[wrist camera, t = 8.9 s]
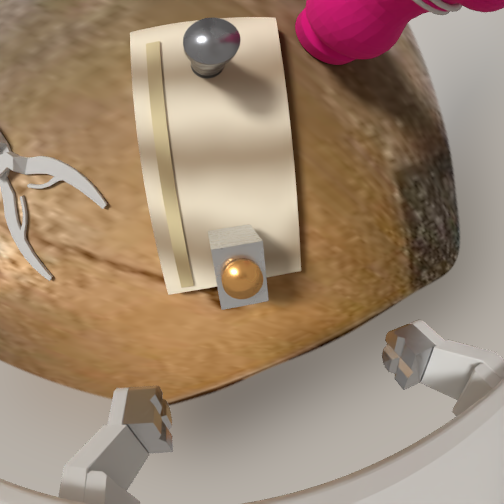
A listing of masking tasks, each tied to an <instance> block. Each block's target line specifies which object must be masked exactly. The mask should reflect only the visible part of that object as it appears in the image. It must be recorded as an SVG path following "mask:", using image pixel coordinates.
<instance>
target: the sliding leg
mask: <svg viewBox="0 0 504 504" xmlns="http://www.w3.org/2000/svg"><path fill="white" fill-rule="evenodd" d="M208 235H209V242H210V248H211V254H212V259H213V265H214V271H215V277H216V282H217V287H218V293H219V298H220V303H221V308H222V310H223V309H228V308H234V307H239V306H244V305H250V304H255V303H260V302H265V301H269V300H268V289H267V279H266V269H265V259H264V249H263V241H262V239H261V238H260V237H259V235H258V234H257V233H256V231H255V230H254V229H253V228H252V226H251V225H250V224H248V225H241V226H235V227H229V228H223V229H217V230H211V231H208Z"/></svg>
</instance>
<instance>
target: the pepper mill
mask: <svg viewBox="0 0 504 504" xmlns="http://www.w3.org/2000/svg"><path fill="white" fill-rule="evenodd" d="M462 6H465V7H467V8H469V9H471V10H475V11H480V12H492V11H496V10H499V9H502V8H504V0H307V2H306V8H305V9H304V10H303V11H302V12H301V13H300V14H299V16H298V17H297V20H296V23H295V30H296V34H297V37H298V39H299V41H300V43H301V45H302V46H303V47H304V48H305V49H306V50H307V52H309V53H310V54H311V55H312V56H314V57H315V58H317V59H319V60H320V61H323V62H325V63H328V64H334V65H342V64H346V63H349V62H351V61H353V60H355V59H371V58H375V57H377V56H379V55H381V54H383V53H385V52H386V51H388V50H389V49H390V48H391V47H392V46H393V45H394V44H395V43H396V42H397V40H398V39H399V37H400V35H401V33H402V31H403V30H404V28H405V26H406V24H407V23H408V22H409V21H410V20H411V19H413V18H415V17H417V16H419V15H421V14H422V13H426V12H432V13H434V14H437V15H446V14H448V13H449V12H450V11H452V12H453V11H458V10H459V9H460V8H461V7H462Z"/></svg>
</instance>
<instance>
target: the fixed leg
mask: <svg viewBox="0 0 504 504" xmlns="http://www.w3.org/2000/svg"><path fill="white" fill-rule="evenodd" d="M240 41H241V39H240V34H239V32H238V30H237V28H236V27H235V26H234V25H233V24H231V23H230V22H228V21H226V20H224V19H220V18H205V19H202V20H199V21H197V22H195V23H194V24H192V25H191V26H190V27H189V28H188V29H187V31H186V32H185V34H184V37H183V48H184V52H185V55H186V56H187V58H188V59H189V60H190V61H191V66H192V68H193V69H194V70H195V71H196V72H197V73H199V74H201V75H205V76H210V75H214V74H217V73H218V72H220V71H221V70H222V69H223V68H224V66H225V64H226V63H228V62H229V61H230V60H232V59H233V57H234V56H235V55H236V53H237V51H238V49H239V46H240Z"/></svg>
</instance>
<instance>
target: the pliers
mask: <svg viewBox="0 0 504 504" xmlns="http://www.w3.org/2000/svg"><path fill="white" fill-rule="evenodd" d="M10 169H11V170H12V171H15V172H18V173H22V174H49V175H52V176H54V177H53V178H52V179H51V180H50V181H49V182H48V183H45V184H40V185H36V184H28V186H27V187H30V188H39V189H41V188H45V187H48V186H51V185H53V184H55V183H56V182H58V181H61V180H64V181H65V182H67V183H69V184H71V185H72V186H74V187H75V188H77V189H79V190H80V191H81V192H82V193H84V194H85V195H86V196H88V197H89V198H90V199H92V200H93V201H94V202H95V203H96V204H98V205H99V206H100V207H101V208H102V209H103V208H105V206H106V205H107V204H108V203H107V202H106V201H105V199H104V198H103V196H102V195H101V194H100V192H99V191H98V190H97V188H96V187H95V186H94V185H93V184H92V183H91V182H90V181H89V180H88V179H87V178H86V177H85V176H84V175H83V174H81V173H80V172H79V171H78V170H76V169H75V168H73V167H71V166H70V165H68V164H66V163H64V162H62V161H60V160H57V159H54V158H51V157H45V156H38V157H31V158H28V157H22V156H19V155H18V154H15V153H12V152H11V149H10V147H9V144H8V142H7V141H6V139H5V138H4V136H3V135H2V133H1V131H0V187H1V192H2V196H3V202H4V212H5V217H6V221H7V225H8V227H9V230H10V232H11V235H12V237H13V239H14V241H15V243H16V245H17V246H18V248H19V250H20V251H21V253H22V254H23V256H24V257H25V258H26V260H27V261H28V262H29V263H30V264H31V265H32V267H33V268H34V269H35V270H37V271H38V272H39V273H40V274H41V275H42V276H44V277H45V278H46V279H48V280H49V281H50V280H51V279H52V277H53V275H52V274H51V273H50V272H49V271H48V270H47V268H46V267H45V266H44V265H43V263H42V262H41V261H40V259H39V258H38V257H37V255H36V254H35V252H34V251H33V249H32V248H31V246H30V244H29V242H28V241H27V239H26V228H27V207H26V202H25V198H24V195H23V196H21V197H20V200H21V204H22V210H23V223H22V226H21V225H20V222H19V219H18V213H17V206H16V197H15V192H14V190H13V188H12V186H11V184H10V182H9V179H8V175H9V172H10Z"/></svg>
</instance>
